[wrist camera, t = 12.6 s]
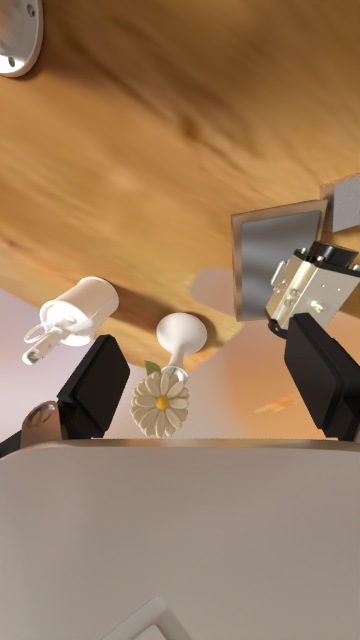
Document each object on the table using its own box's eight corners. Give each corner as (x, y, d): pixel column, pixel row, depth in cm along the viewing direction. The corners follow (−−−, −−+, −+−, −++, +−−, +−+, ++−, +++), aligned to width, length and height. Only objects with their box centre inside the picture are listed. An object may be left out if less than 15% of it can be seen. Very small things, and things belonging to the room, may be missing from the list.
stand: (231, 214, 31) (234, 217, 27) (313, 199, 29) (330, 199, 25) (234, 311, 40) (237, 323, 36) (297, 305, 38) (307, 317, 34)
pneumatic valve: (320, 238, 27) (387, 261, 17) (281, 308, 34) (313, 355, 24) (282, 229, 27) (327, 247, 17) (250, 301, 34) (269, 345, 24)
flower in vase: (215, 340, 45) (222, 465, 24) (172, 354, 49) (147, 472, 28) (190, 294, 39) (172, 404, 18) (145, 313, 43) (86, 423, 22)
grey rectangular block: (319, 185, 28) (334, 184, 25) (351, 174, 27) (372, 170, 24) (318, 228, 31) (332, 232, 27) (348, 219, 30) (366, 222, 26)
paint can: (91, 317, 46) (24, 387, 29) (69, 281, 41) (-25, 339, 24) (131, 309, 43) (82, 380, 26) (112, 269, 38) (39, 324, 22)
